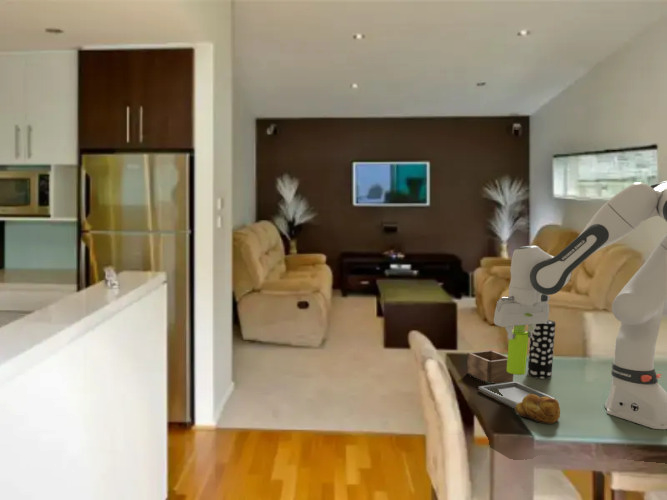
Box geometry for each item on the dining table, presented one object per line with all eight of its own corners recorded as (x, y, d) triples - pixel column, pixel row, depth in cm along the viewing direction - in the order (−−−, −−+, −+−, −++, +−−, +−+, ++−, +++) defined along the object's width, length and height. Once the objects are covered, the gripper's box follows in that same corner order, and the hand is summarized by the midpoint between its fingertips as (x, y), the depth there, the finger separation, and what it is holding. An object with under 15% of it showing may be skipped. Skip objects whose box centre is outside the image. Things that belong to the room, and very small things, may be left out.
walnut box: (512, 381, 218) (514, 358, 217) (488, 384, 213) (489, 361, 212) (490, 371, 229) (491, 350, 228) (466, 374, 224) (467, 352, 223)
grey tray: (555, 403, 196) (555, 398, 196) (516, 410, 189) (516, 404, 189) (515, 386, 212) (515, 381, 212) (478, 391, 205) (478, 386, 205)
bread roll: (510, 417, 183) (512, 391, 182) (522, 408, 191) (524, 383, 190) (554, 428, 176) (556, 401, 175) (565, 419, 183) (567, 393, 182)
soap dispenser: (521, 376, 196) (526, 314, 193) (502, 371, 201) (507, 310, 198) (531, 373, 199) (536, 313, 197) (513, 368, 205) (518, 308, 202)
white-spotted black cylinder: (548, 372, 230) (552, 319, 228) (553, 379, 222) (558, 324, 220) (525, 371, 231) (529, 318, 229) (530, 377, 223) (534, 323, 221)
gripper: (504, 299, 190) (501, 343, 191) (553, 296, 199) (550, 338, 200) (490, 295, 195) (488, 338, 197) (539, 292, 204) (536, 333, 206)
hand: (519, 338), depth 199 cm, fingers closed on soap dispenser, 6 cm apart
